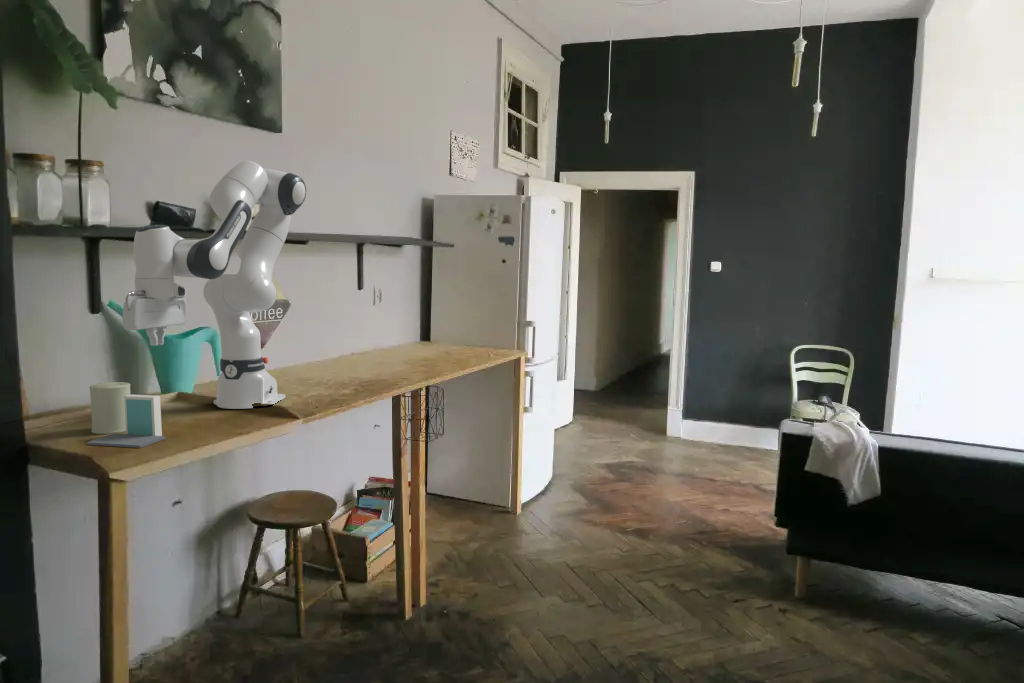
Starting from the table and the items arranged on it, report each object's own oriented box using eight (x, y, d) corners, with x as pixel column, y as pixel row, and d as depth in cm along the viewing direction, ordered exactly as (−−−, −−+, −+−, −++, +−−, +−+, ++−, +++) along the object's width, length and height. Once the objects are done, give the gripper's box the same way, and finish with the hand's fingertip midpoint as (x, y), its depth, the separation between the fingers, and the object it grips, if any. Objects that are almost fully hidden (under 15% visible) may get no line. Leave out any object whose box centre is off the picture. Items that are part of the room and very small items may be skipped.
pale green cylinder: (138, 429, 185) (136, 383, 183) (99, 435, 178) (96, 387, 177) (124, 424, 191) (122, 379, 189) (86, 429, 184) (83, 383, 183)
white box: (133, 433, 180) (131, 394, 179) (161, 435, 179) (160, 395, 178) (125, 436, 178) (123, 396, 176) (154, 438, 176) (152, 397, 175)
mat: (114, 435, 178) (114, 433, 178) (165, 438, 176) (165, 436, 176) (86, 444, 169) (86, 442, 169) (140, 447, 167) (140, 445, 167)
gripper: (137, 291, 170) (140, 350, 171) (191, 289, 190) (192, 341, 191) (114, 291, 171) (116, 349, 173) (169, 288, 191) (171, 340, 193)
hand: (157, 345), depth 182 cm, fingers closed
